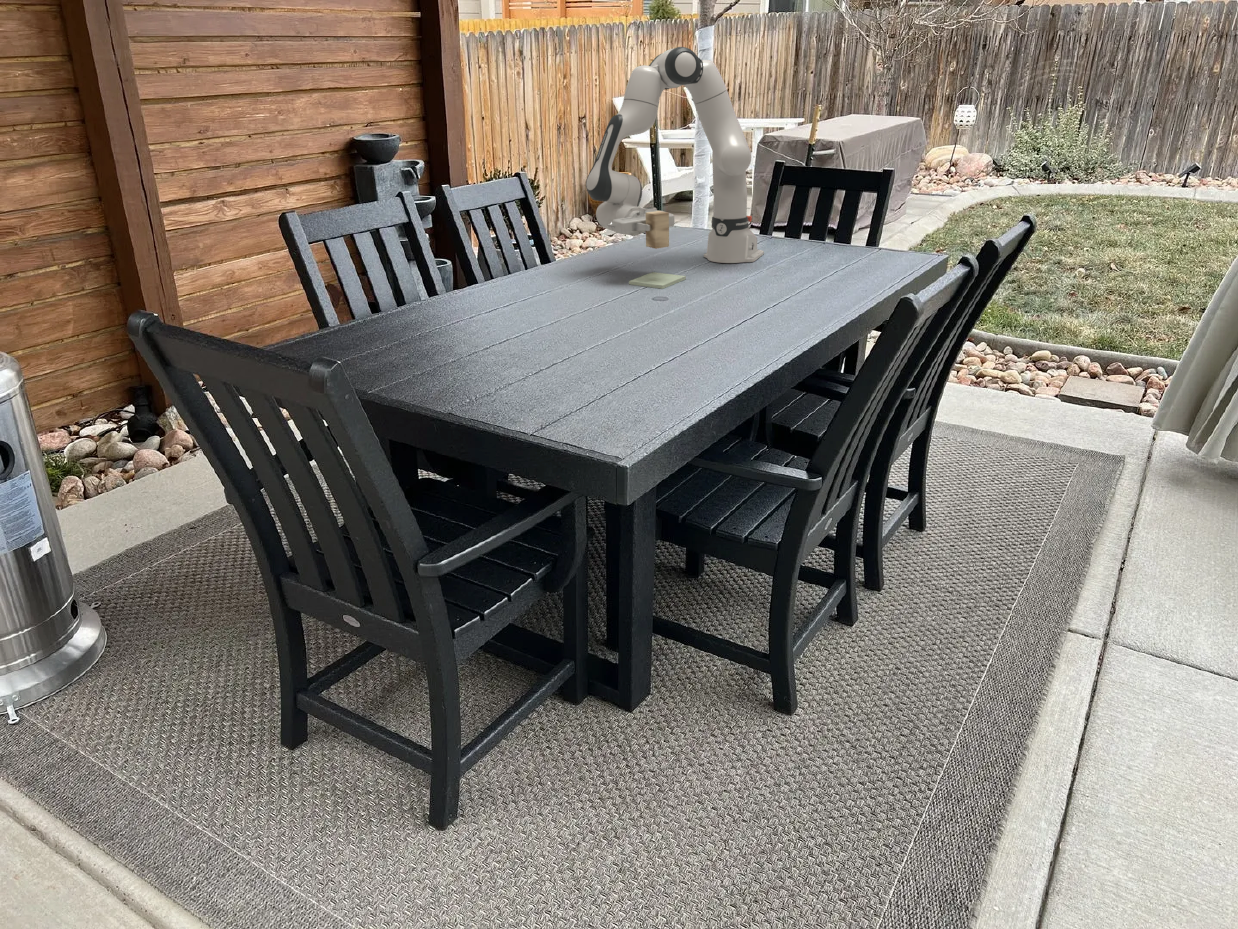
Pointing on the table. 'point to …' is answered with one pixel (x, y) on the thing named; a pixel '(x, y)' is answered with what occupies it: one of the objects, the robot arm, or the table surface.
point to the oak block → (657, 229)
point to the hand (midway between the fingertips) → (659, 226)
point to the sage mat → (657, 280)
